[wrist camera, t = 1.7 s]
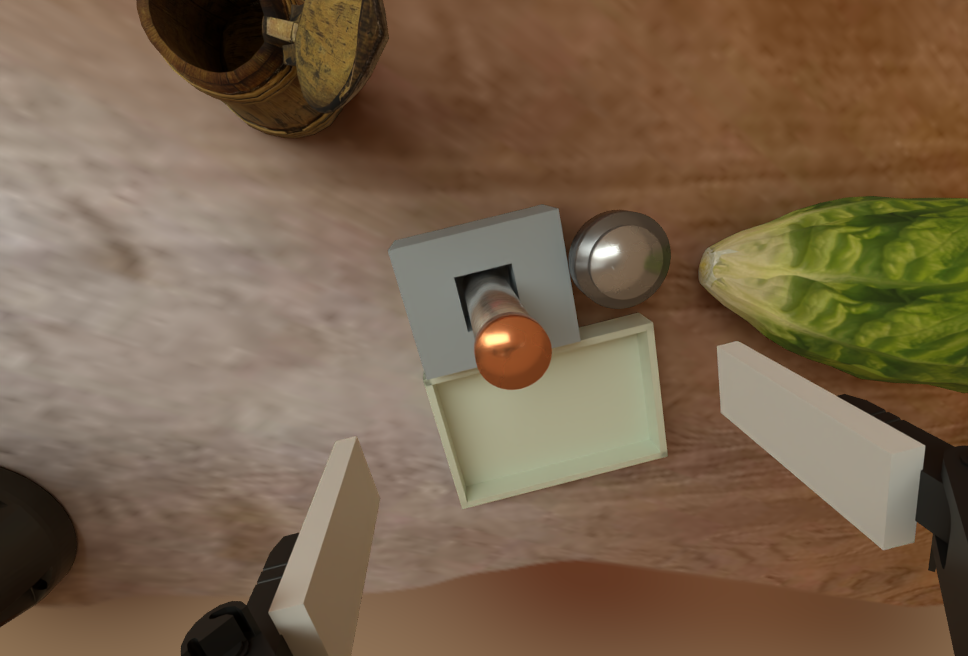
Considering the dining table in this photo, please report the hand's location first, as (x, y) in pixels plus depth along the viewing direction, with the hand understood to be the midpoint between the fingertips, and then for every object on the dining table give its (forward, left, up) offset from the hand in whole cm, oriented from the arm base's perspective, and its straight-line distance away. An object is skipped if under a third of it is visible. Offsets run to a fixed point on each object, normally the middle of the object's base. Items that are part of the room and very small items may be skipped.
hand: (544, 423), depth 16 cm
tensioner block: (0, 0, -23) cm, 23 cm away
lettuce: (+28, -6, -23) cm, 36 cm away
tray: (+3, -12, -23) cm, 26 cm away
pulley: (+9, +1, -23) cm, 24 cm away
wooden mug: (-8, +17, -23) cm, 30 cm away
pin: (0, 0, -22) cm, 22 cm away
